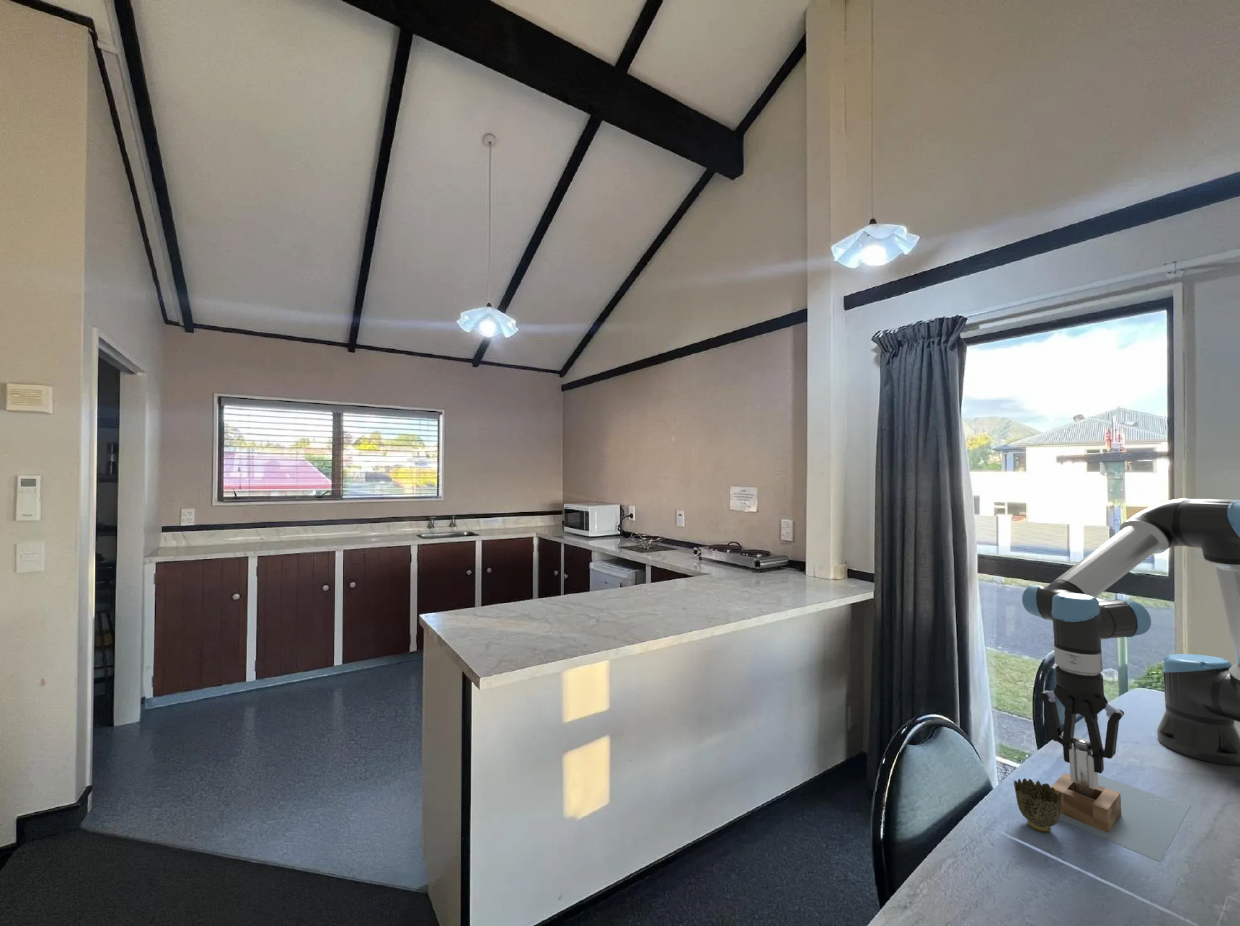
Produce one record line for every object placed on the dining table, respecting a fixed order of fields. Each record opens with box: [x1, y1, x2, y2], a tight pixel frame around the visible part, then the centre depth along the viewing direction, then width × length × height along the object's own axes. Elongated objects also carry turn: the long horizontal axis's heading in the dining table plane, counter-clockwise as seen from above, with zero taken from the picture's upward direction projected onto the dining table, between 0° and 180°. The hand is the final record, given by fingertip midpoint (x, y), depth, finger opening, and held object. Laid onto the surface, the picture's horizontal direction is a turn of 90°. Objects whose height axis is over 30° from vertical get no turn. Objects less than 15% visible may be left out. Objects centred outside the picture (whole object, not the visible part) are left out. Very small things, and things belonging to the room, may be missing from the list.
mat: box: [1058, 774, 1190, 863], centre depth 108 cm, size 26×18×1 cm
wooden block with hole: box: [1050, 772, 1121, 833], centre depth 107 cm, size 9×9×4 cm
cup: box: [1013, 777, 1062, 834], centre depth 103 cm, size 8×7×8 cm
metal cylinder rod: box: [1072, 737, 1094, 799], centre depth 107 cm, size 3×3×14 cm
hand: (1084, 782), depth 107 cm, fingers closed on metal cylinder rod, 2 cm apart
